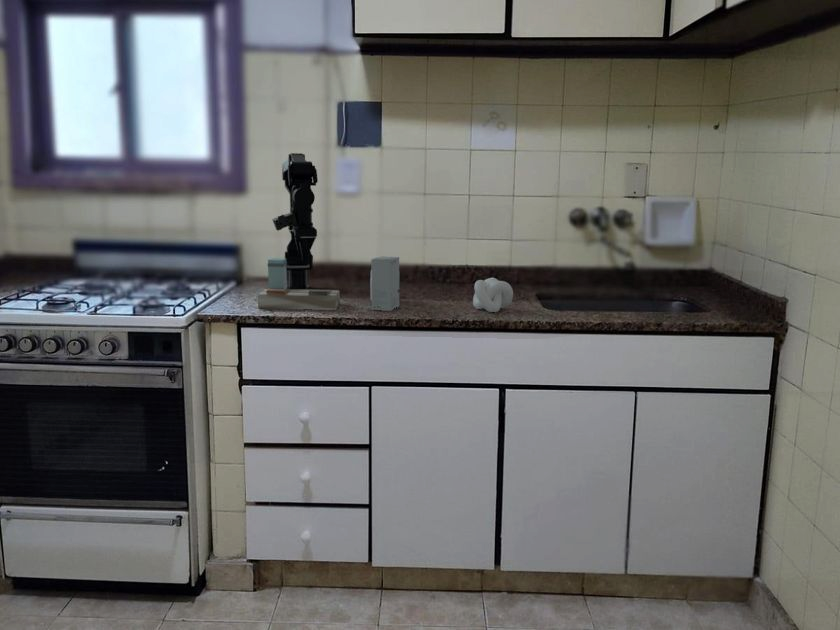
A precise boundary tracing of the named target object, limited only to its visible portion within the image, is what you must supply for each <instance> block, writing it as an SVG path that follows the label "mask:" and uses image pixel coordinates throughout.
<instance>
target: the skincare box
mask: <svg viewBox="0 0 840 630" xmlns="http://www.w3.org/2000/svg"><path fill="white" fill-rule="evenodd" d="M370 262H371V265H370V266H372V301H371V310H372V311H380V310H381V311H380V312H392V311H393V310H395V309H397V308H399V307H400V257H399V256H378V257H373V258H371V261H370ZM396 307H397V308H396ZM394 308H395V309H394Z"/></svg>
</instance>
